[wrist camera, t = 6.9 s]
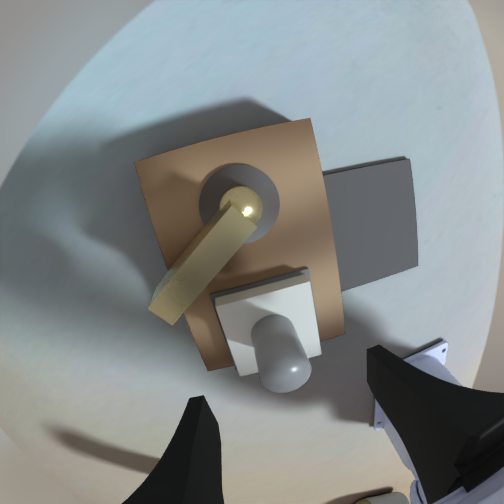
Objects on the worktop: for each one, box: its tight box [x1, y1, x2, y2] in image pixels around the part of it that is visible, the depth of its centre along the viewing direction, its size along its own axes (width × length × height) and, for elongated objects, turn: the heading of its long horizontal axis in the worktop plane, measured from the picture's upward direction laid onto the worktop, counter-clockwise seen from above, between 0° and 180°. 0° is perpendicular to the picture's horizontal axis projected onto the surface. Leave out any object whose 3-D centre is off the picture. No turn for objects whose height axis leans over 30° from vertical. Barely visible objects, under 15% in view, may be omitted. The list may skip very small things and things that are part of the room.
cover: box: [215, 274, 321, 393], centre depth 15 cm, size 5×5×4 cm
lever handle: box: [148, 185, 263, 326], centre depth 14 cm, size 7×2×3 cm, turn 139°
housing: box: [134, 118, 345, 371], centre depth 18 cm, size 13×9×3 cm
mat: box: [323, 159, 418, 292], centre depth 20 cm, size 8×7×1 cm
